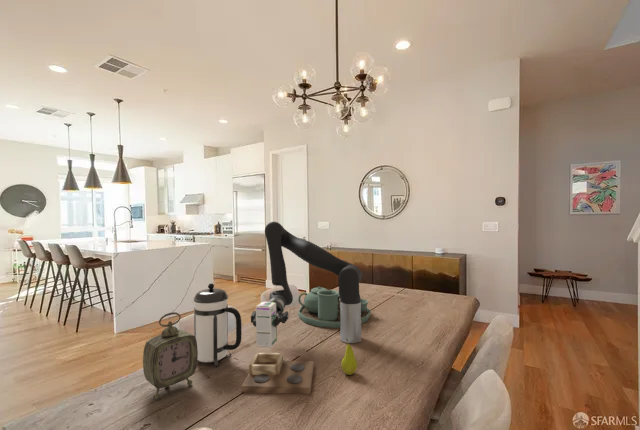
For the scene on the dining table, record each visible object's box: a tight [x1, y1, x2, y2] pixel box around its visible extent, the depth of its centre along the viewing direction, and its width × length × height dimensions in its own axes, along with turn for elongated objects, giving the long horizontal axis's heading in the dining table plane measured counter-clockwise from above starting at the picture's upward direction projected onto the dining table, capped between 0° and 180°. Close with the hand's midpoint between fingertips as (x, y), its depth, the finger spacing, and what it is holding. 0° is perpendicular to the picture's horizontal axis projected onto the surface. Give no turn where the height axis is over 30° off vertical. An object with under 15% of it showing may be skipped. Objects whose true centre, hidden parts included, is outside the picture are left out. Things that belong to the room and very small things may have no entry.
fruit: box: [340, 338, 358, 376], centre depth 114 cm, size 6×6×12 cm
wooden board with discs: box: [241, 352, 315, 395], centre depth 111 cm, size 22×18×5 cm
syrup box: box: [255, 301, 278, 348], centre depth 115 cm, size 6×6×14 cm
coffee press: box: [192, 282, 242, 368], centre depth 125 cm, size 17×16×30 cm
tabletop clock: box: [142, 311, 198, 400], centre depth 104 cm, size 14×9×25 cm, turn 139°
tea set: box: [297, 286, 372, 329], centre depth 179 cm, size 40×40×16 cm
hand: (265, 324), depth 112 cm, fingers closed on syrup box, 6 cm apart
